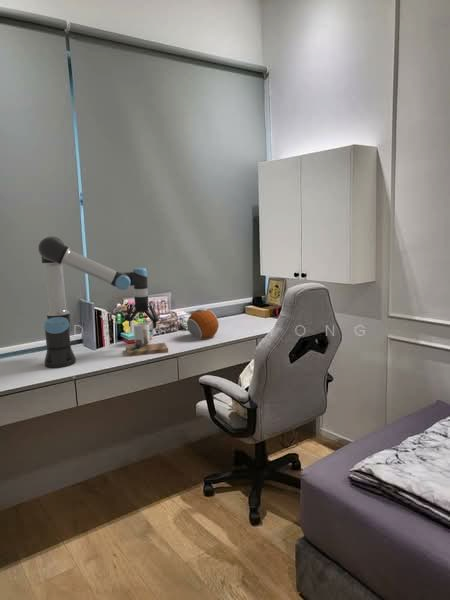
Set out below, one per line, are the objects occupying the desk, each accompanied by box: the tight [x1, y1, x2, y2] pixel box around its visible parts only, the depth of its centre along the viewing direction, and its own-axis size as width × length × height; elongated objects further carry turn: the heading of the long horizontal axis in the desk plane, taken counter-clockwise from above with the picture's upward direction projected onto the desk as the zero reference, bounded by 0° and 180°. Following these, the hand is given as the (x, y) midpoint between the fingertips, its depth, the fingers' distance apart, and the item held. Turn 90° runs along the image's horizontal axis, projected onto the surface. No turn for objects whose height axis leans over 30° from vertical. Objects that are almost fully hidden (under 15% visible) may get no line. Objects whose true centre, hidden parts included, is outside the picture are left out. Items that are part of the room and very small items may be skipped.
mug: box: [133, 322, 155, 344], centre depth 282 cm, size 12×9×11 cm
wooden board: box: [125, 342, 169, 357], centre depth 264 cm, size 22×13×2 cm, turn 105°
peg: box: [131, 329, 149, 350], centre depth 263 cm, size 13×3×9 cm, turn 149°
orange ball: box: [186, 307, 220, 340], centre depth 291 cm, size 19×18×17 cm
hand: (142, 333), depth 268 cm, fingers open, 13 cm apart
